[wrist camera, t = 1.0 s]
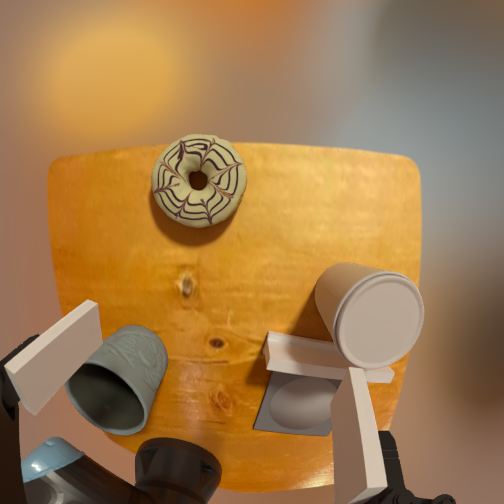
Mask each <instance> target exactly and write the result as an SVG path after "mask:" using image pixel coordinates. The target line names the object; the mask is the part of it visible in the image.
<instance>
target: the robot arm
mask: <svg viewBox="0 0 504 504" xmlns="http://www.w3.org/2000/svg"><path fill="white" fill-rule="evenodd" d="M102 344H103V341H102V334H101V327H100V319H99V310H98V303H95V302H92V301H90V300H86V301H85V302H83V303H82V304H81V305H79V306H78V307H77V308H75V309H74V310H73V311H71V312H70V313H69V314H67V315H66V316H65V317H64V318H62V319H61V320H60V321H58V322H57V323H56V324H54V325H53V326H52V327H51V328H49V329H48V330H47V331H46V332H44V333H43V334H42V335H39V334H37V335H35V336H32V337H30V338H28V339H27V340H26V341H24V342H23V344H21V345H19V346H18V348H16V349H14V350H13V351H12V352H11V353H10V354H8V355H7V356H6V357H5V358H4V359H3V360H1V361H0V504H207V503H208V501H209V500H210V498H211V497H212V495H213V494H214V492H215V490H216V489H217V487H218V486H219V484H220V481H221V474H222V468H221V465H220V463H219V461H218V460H217V459H216V458H215V457H214V456H213V455H212V454H211V453H209V452H208V451H207V450H205V449H203V448H201V447H199V446H197V445H195V444H192V443H190V442H187V441H183V440H179V439H174V438H154V439H150V440H147V441H145V442H144V443H142V444H141V446H140V447H139V449H138V451H137V454H136V457H135V475H136V476H135V477H136V483H135V486H133V485H131V484H129V483H128V482H126V481H124V480H123V479H121V478H119V477H118V476H116V475H115V474H113V473H111V472H110V471H108V470H107V469H105V468H104V467H102V466H101V465H99V464H98V463H96V462H95V461H93V460H92V459H91V458H89V457H88V456H87V455H85V453H84V452H83V451H80V450H78V449H77V448H75V447H74V446H73V445H71V444H70V443H69V442H67V441H66V440H64V439H63V438H61V437H51V438H49V439H47V440H46V441H44V442H43V443H42V444H41V445H39V446H38V447H37V448H36V449H35V450H33V451H32V452H31V453H30V454H29V455H28V456H27V457H26V458H25V459H24V460H23V461H22V462H21V458H20V444H19V406H18V402H19V401H20V400H21V401H22V404H23V406H24V407H25V408H26V409H27V410H28V411H30V412H31V413H32V414H33V415H36V414H37V413H38V412H39V411H40V410H41V409H42V407H43V406H44V405H45V404H46V403H47V402H48V401H49V400H50V398H51V397H52V396H53V395H54V394H55V393H56V392H57V391H58V390H59V389H60V388H61V387H62V386H63V384H65V382H66V381H67V380H68V379H69V378H70V377H71V376H72V375H73V374H74V373H75V372H76V371H77V370H78V369H79V368H80V367H81V366H82V364H83V363H84V362H85V361H86V360H87V359H88V358H89V357H90V356H91V355H92V354H93V353H94V352H95V351H96V350H97V349H98V348H99V347H100V346H101V345H102ZM330 409H331V422H332V438H333V458H334V488H335V504H456V502H455V499H453V497H452V496H450V495H447V494H442V495H440V496H437V497H436V498H435V499H433V500H432V499H423V498H417V497H415V496H414V495H413V494H412V492H411V491H409V490H407V489H406V488H405V485H404V480H403V475H402V470H401V465H400V460H399V459H398V457H399V456H398V451H397V447H396V443H395V439H394V438H393V436H392V435H391V433H390V432H389V431H378V430H377V425H376V421H375V416H374V412H373V407H372V403H371V399H370V394H369V390H368V386H367V382H366V378H365V374H364V370H363V369H362V368H354V367H349V368H348V370H347V372H346V374H345V376H344V378H343V380H342V382H341V384H340V386H339V388H338V390H337V392H336V394H335V396H334V397H333V399H332V401H331V403H330Z"/></svg>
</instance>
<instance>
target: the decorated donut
mask: <svg viewBox="0 0 504 504" xmlns="http://www.w3.org/2000/svg"><path fill="white" fill-rule="evenodd" d="M197 171H202V172H203V173H204V174H206V175H207V178H208V182H207V186H206V187H205V188H204V189H203V190H200V191H196V190H195V189H192V188H191V185H190V183H189V179H190V176H191V174H192V173H193V172H197ZM151 179H152V180H151V184H152V192H153V195H154V197H155V200H156V202H157V204H158V205H159V207H161V209H162V210H163V211H164V212H165V213H166V214H167V216H168V217H170V218H171V219H173V220H175V221H177V222H179V223H181V224H183V225H185V226H190V227H195V228H203V227H208V226H212V225H215V224H218V223H220V222H222V221H224V220H226V219H227V218H229V217H230V216H231V215H232V214H233V213H234V212H235V210H236V209H237V207H238V205H239V203H240V202H241V200H242V198H243V196H244V193H245V190H246V185H247V175H246V169H245V164H244V161H243V159H242V157H241V156H240V155H239V154H238V152H237V151H236V150H235V148H234V147H233V146H232V144H231V143H230V142H228V141H227V140H222V139H219V138H218V137H217V136H216V135H201V134H193V135H188V136H185V137H183V138H181V139H179V140H177V141H176V142H174V143H172V144H171V145H170V146H168V147H167V148H166V149H165V150H164V151H163V153H162V154H161V155H160V156H159V158H158V159H157V161H156V163H155V165H154V168H153V170H152V175H151Z"/></svg>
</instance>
